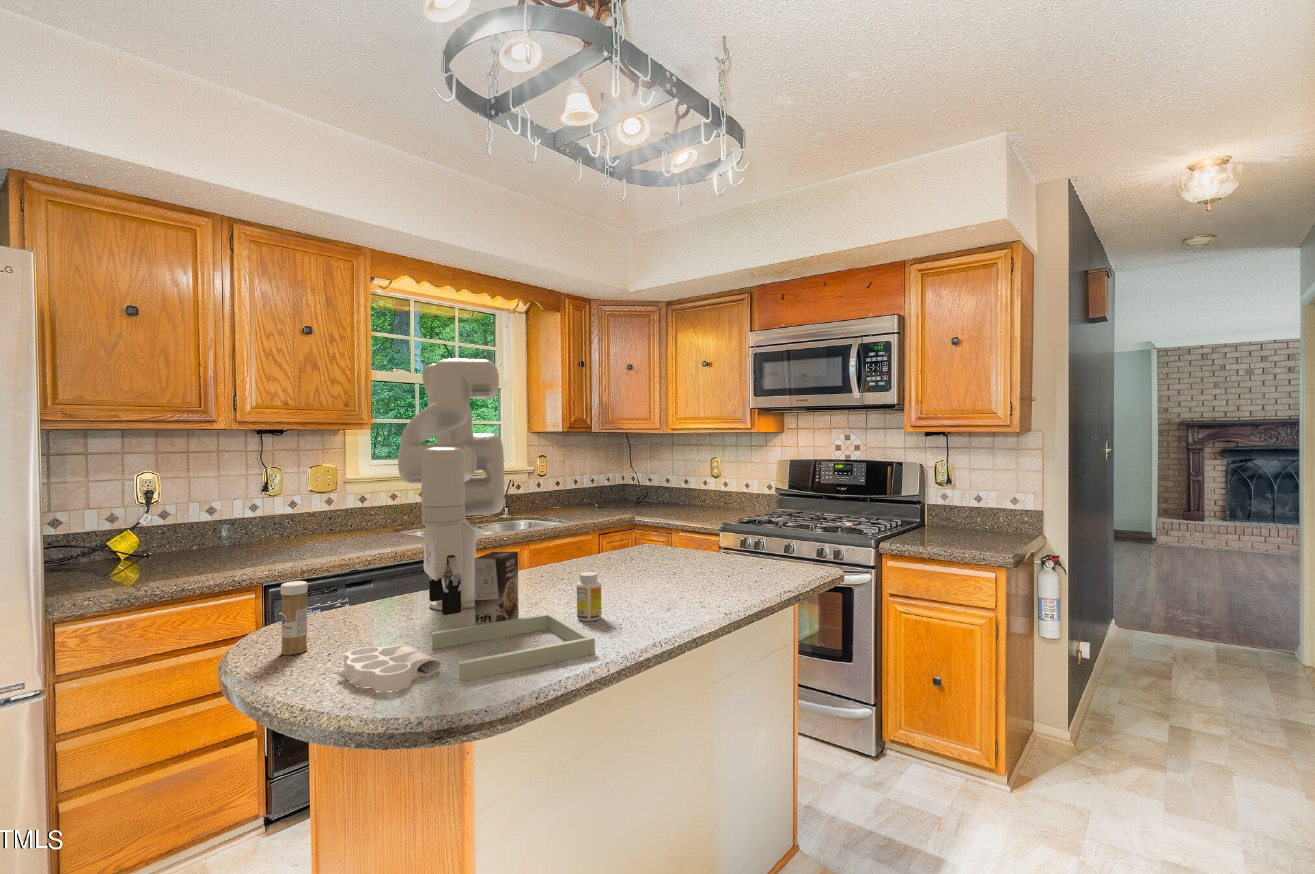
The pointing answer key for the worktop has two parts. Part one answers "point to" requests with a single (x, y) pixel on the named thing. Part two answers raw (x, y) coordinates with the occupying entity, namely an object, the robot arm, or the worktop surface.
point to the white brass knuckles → (387, 667)
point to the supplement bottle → (588, 597)
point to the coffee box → (496, 587)
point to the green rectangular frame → (517, 660)
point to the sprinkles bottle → (294, 617)
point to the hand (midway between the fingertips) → (444, 606)
